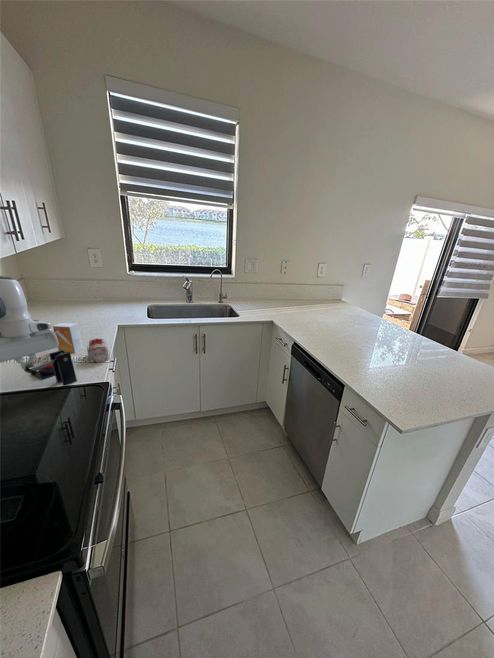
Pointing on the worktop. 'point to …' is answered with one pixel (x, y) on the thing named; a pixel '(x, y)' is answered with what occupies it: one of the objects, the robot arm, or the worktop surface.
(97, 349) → the food item
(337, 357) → the worktop surface
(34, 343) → the robot arm
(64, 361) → the bracket
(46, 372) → the control block
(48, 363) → the lever
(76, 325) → the small box
